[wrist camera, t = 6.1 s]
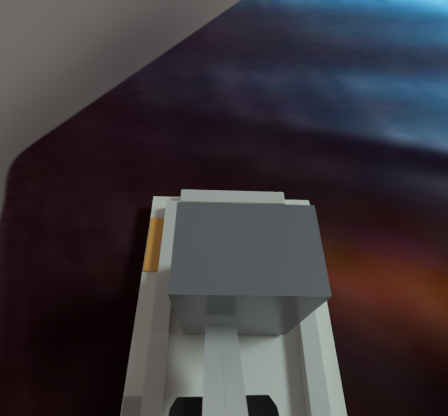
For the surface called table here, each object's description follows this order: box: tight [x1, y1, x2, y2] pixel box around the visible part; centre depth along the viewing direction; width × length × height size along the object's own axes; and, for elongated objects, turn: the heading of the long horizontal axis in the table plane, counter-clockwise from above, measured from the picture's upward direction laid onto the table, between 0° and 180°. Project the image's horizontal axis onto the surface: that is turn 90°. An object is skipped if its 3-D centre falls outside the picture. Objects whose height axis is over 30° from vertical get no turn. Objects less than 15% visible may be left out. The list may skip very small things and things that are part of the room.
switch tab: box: [168, 202, 332, 335], centre depth 15 cm, size 4×6×8 cm, turn 90°
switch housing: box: [120, 190, 347, 416], centre depth 18 cm, size 20×12×2 cm, turn 0°
